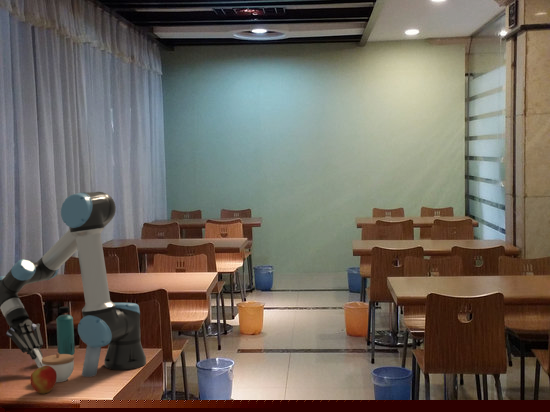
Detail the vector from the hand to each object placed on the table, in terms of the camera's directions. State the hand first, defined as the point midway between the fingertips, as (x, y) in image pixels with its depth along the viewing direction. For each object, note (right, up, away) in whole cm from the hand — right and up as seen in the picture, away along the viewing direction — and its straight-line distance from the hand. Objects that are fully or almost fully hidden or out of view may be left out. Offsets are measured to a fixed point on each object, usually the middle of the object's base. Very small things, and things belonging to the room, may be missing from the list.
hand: (41, 365), depth 258 cm
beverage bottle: (+2, -2, +23) cm, 23 cm away
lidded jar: (+8, -4, -6) cm, 11 cm away
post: (+17, -3, -1) cm, 17 cm away
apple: (+7, -5, -20) cm, 22 cm away
